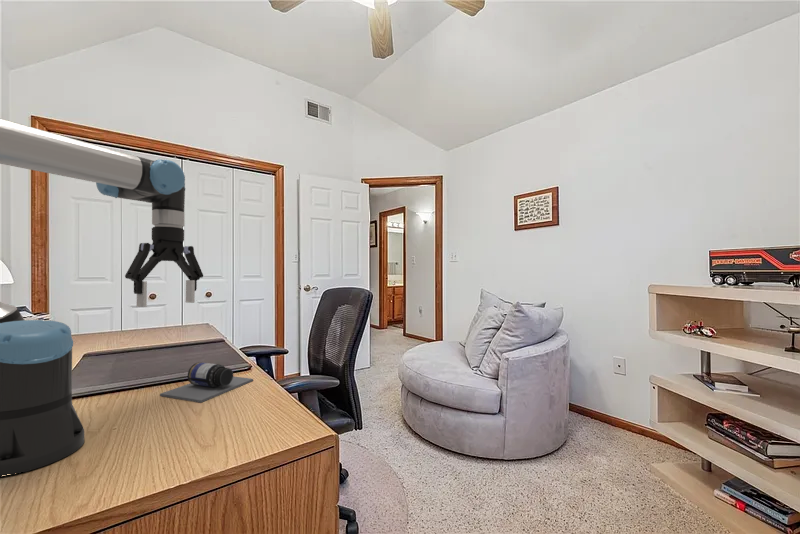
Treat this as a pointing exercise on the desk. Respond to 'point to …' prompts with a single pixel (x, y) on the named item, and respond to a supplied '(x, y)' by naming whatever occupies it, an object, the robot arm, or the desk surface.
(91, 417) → the desk surface
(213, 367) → the pill bottle
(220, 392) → the desk mat
